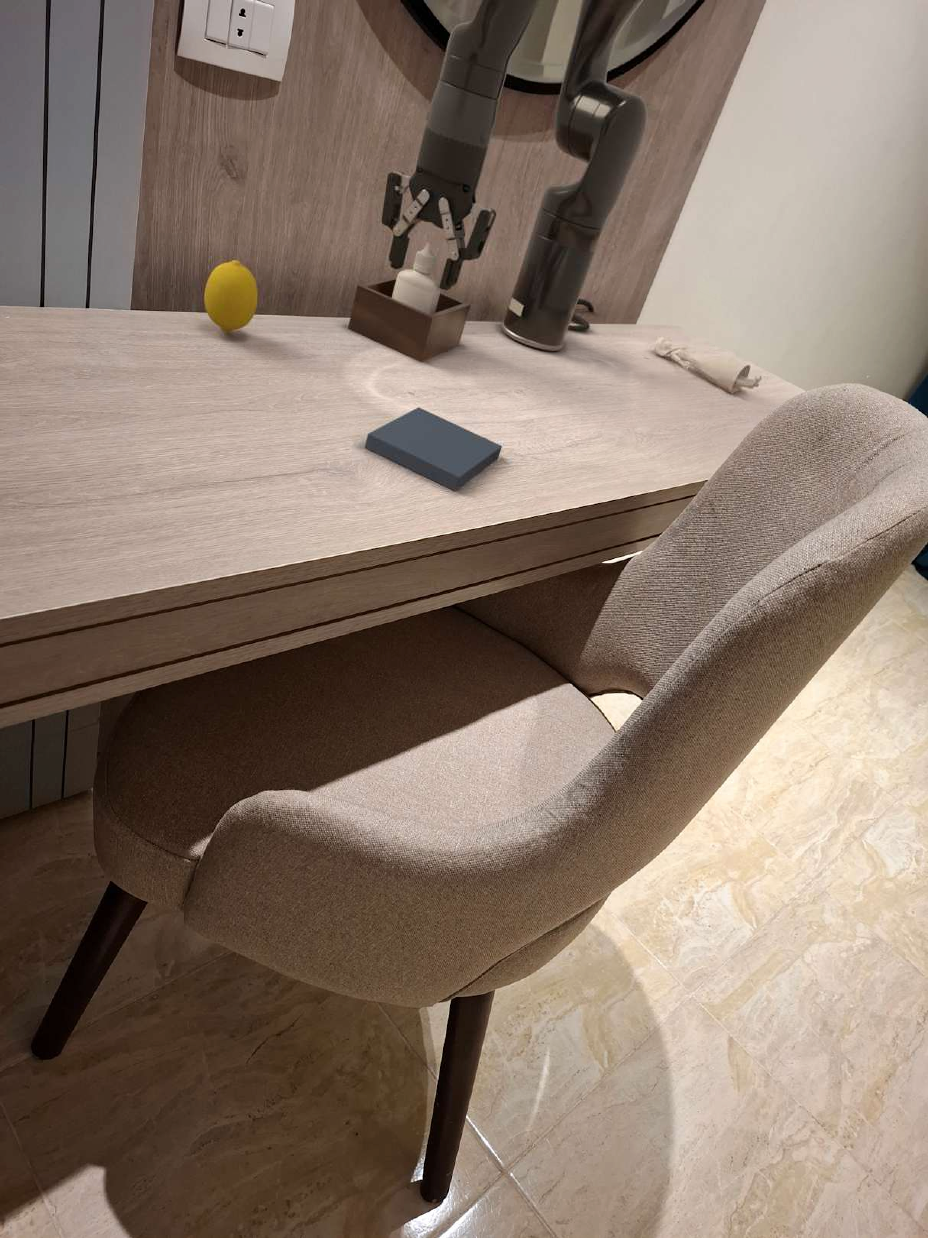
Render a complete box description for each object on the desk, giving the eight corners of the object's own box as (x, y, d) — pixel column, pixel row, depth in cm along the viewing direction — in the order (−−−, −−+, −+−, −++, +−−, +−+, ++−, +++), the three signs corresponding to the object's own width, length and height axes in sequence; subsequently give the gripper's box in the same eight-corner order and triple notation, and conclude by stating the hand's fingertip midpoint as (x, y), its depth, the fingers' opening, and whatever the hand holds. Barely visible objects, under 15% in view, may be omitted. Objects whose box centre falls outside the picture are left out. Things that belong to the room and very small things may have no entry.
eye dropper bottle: (405, 346, 114) (430, 249, 107) (379, 327, 117) (402, 232, 110) (431, 346, 117) (457, 252, 110) (404, 328, 120) (428, 235, 113)
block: (414, 419, 96) (418, 406, 95) (497, 458, 94) (502, 445, 93) (364, 447, 87) (368, 433, 86) (455, 491, 85) (459, 477, 84)
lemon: (192, 331, 98) (201, 256, 93) (212, 318, 102) (221, 246, 98) (241, 348, 98) (252, 274, 93) (258, 334, 102) (270, 263, 98)
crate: (390, 314, 122) (400, 274, 119) (458, 345, 120) (470, 304, 117) (347, 328, 113) (357, 284, 110) (420, 361, 111) (432, 318, 108)
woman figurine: (750, 375, 134) (644, 333, 141) (738, 403, 136) (634, 360, 143) (774, 366, 142) (673, 327, 149) (762, 393, 145) (664, 353, 152)
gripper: (524, 154, 105) (482, 296, 114) (418, 112, 108) (384, 253, 117) (501, 154, 99) (458, 304, 108) (388, 110, 102) (356, 259, 111)
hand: (420, 277), depth 112 cm, fingers open, 6 cm apart
